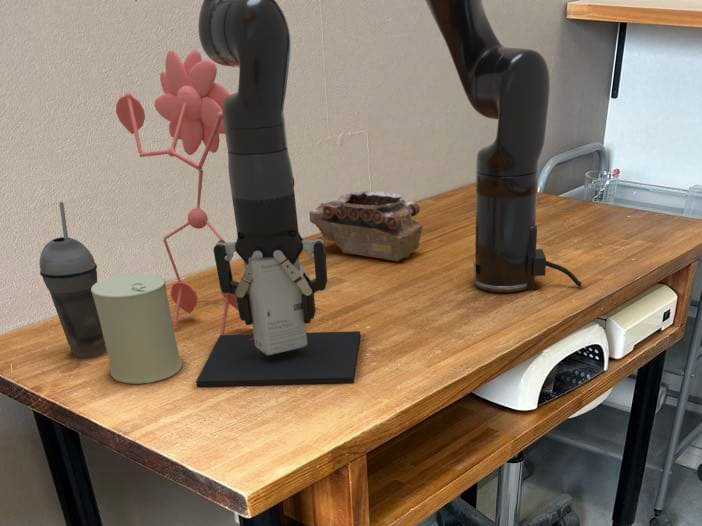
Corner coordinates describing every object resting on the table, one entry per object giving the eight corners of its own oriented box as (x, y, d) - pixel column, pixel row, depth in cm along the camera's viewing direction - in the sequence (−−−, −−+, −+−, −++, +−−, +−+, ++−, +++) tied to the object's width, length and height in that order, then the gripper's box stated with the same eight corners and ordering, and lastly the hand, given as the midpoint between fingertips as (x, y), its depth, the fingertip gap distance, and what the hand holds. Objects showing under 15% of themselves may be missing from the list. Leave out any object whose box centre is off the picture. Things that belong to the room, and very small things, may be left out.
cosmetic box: (268, 357, 111) (255, 263, 104) (253, 346, 114) (240, 255, 107) (310, 345, 114) (300, 253, 107) (294, 336, 117) (284, 246, 110)
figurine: (264, 345, 117) (227, 51, 99) (130, 321, 129) (75, 54, 110) (329, 314, 128) (306, 44, 110) (200, 294, 140) (160, 48, 121)
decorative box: (382, 273, 145) (379, 213, 140) (296, 255, 155) (290, 199, 150) (427, 253, 154) (426, 197, 148) (343, 238, 164) (339, 184, 158)
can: (138, 390, 109) (116, 297, 102) (97, 372, 114) (74, 283, 107) (196, 366, 114) (179, 277, 107) (155, 351, 119) (136, 264, 113)
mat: (360, 336, 121) (360, 330, 121) (353, 383, 108) (353, 377, 108) (220, 340, 122) (219, 334, 122) (196, 387, 109) (195, 381, 108)
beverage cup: (69, 343, 123) (30, 197, 112) (120, 340, 123) (87, 194, 112) (56, 363, 117) (14, 211, 106) (110, 360, 117) (74, 208, 106)
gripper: (197, 199, 100) (219, 334, 109) (319, 195, 100) (330, 331, 109) (209, 184, 106) (229, 314, 116) (324, 180, 106) (335, 310, 115)
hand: (278, 322), depth 112 cm, fingers closed on cosmetic box, 7 cm apart
